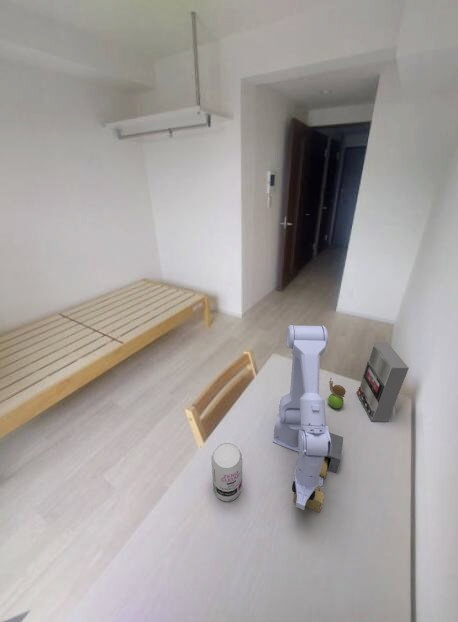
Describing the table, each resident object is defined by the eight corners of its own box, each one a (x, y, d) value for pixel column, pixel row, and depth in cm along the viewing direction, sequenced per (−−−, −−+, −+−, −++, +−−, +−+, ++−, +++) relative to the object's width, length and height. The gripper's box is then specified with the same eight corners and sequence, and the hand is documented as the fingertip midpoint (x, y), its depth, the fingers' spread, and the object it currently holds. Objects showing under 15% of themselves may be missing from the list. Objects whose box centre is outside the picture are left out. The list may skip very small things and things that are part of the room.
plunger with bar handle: (293, 500, 74) (295, 489, 71) (304, 452, 86) (306, 442, 84) (319, 512, 71) (322, 502, 69) (327, 461, 83) (330, 451, 81)
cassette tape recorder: (355, 393, 108) (370, 342, 96) (371, 393, 108) (388, 342, 96) (370, 422, 96) (389, 368, 84) (387, 422, 96) (409, 368, 84)
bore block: (302, 460, 84) (305, 446, 81) (307, 439, 90) (310, 425, 87) (336, 474, 80) (340, 459, 77) (339, 451, 87) (343, 437, 83)
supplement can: (227, 467, 83) (226, 435, 75) (247, 487, 77) (248, 455, 70) (207, 486, 78) (204, 454, 70) (227, 509, 72) (226, 477, 65)
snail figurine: (327, 397, 107) (332, 373, 101) (343, 404, 103) (350, 380, 98) (322, 405, 103) (327, 382, 97) (339, 413, 100) (346, 389, 94)
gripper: (321, 501, 59) (312, 531, 66) (329, 446, 71) (321, 476, 77) (289, 487, 62) (284, 517, 69) (302, 436, 74) (297, 466, 80)
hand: (302, 495), depth 73 cm, fingers closed on plunger with bar handle, 2 cm apart
